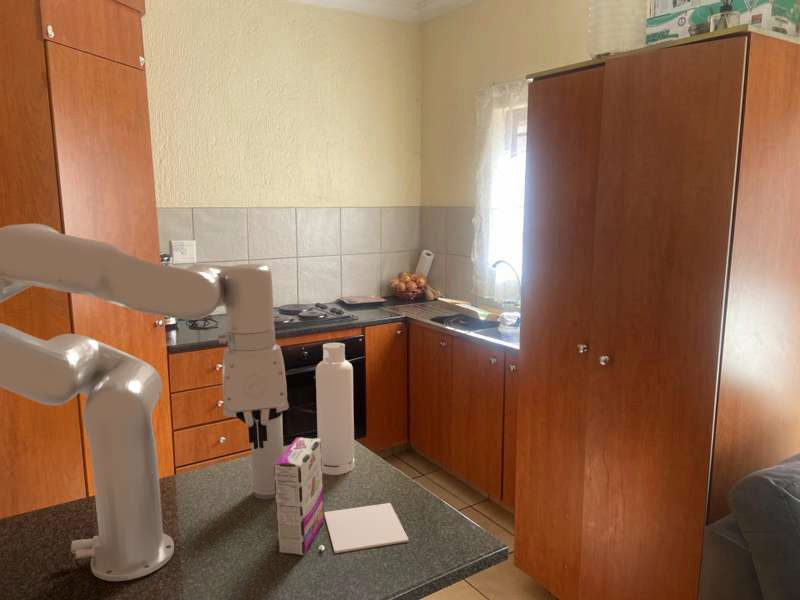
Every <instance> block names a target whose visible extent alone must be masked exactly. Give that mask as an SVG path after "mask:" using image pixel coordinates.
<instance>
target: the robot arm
mask: <svg viewBox="0 0 800 600" xmlns="http://www.w3.org/2000/svg"><path fill="white" fill-rule="evenodd" d="M272 276H273V275H272V272H271V269H270V267H268V266H267V265H265V264H260V263H259V264H258V263H246V264H245V263H244V264H236V265H231V266H228V265H217V264H216V265H215V264H203V263H200V264H197V263H196V264H194V265H190V266H188V267H186V268H182V267H175V266H171V265H166V264H160V263H156V262H153V261H147V260H144V259H141V258H138V257H135V256H132V255H130V254H128V253H126V252H125V251H123V250H122V249H120V248H119V247H118V246H116V245H114V244H112V243H108V242H105V241H99V240H94V239H91V238H90V239H89V238H84V237H81V236H75V235H74V236H73V235H69V234H64V233H60V232H59V231H57V230H56V229H54V228H53V227H51V226H48V225H45V224H42V223H24V224H23V223H20V224H10V225H5V226H2V227H0V304H1V303H3V302H5V301H7V300H8V299H10V298H12V297H14V296H15V295H17V294H20V293H21V292H23V291H25V290H26V289H29V288H31V287H32V286H33V287H38V288H42V289H43V288H44V289H50V290H55V291H60V292H63V293H64V292H66V293H70V294H76V295H81V296H85V297H86V296H87V297H92V298H96V299H98V300H99V299H100V300H103V302H107V303H109V304H110V303H111V304H114V305H117V306H120V307H123V308H126V309H129V310H130V309H131V310H133V311H137V312H141V313H145V314H150V315H156V316H161V317H167V318H172V319H179V320H186V321H194V320H196V321H197V320H201V319H205V318H207V317H209V316H210V315H212V314H213V313H214V312H215V311H216V309H217V308H219V307H224V308H225V315H226V317H225V318H226V329H227V330H226V331H227V332H225V333H223V334H222V335H218V344H224V345H226V346H227V348H225V349H224V351H223V357H222V370H221V371H222V373H221V374H222V375H221V376H222V400H223V410H222V414H223V416H224V417H229V418H230V417H231V418H237V419H238V420H240V421H241V422H243V423H244V424H245V426H246V427H247V428H248V441H249V444H251V443H253V442H254V449H257V448H258V437H259V448H264V445H263V441H267V424H268V421H269V420H270V419H271V418H272V417H273V416H274V415H275V414H276V413H277V412H281V411H282V412H284V411H287V410H288V409H289V408H290V405H289V401H288V391H287V390H288V388H287V378H286V367H285V361H284V356H283V353H282V349H281V346H280V345H279V344H277V343H276V329H275V313H274V312H275V311H274V298H273V297H274V294H273V291H274V290H273V277H272ZM0 388H2V389H4V390H7V391H9V392H12V393H13V394H17V395H19V396H21V397H24V398H26V399H29V400H31V401H33V402H37V403H39V404H42V405H44V406H59V405H64V404H66V403H68V402H69V401H71V400H73V399H74V398H75V397H76V396H78V394H81V395H84V396H86V399H85V402H84V405H83V409H82V421H83V427H84V431H85V434H86V435H85V436H86V439H87V442H88V443H87V444H88V447H89V453H90V460H91V462H90V463H91V469H92V478H93V486H94V487H93V488H94V497H95V507H96V510H95V511H96V518H97V531H98V535H94V536H93V537H92V538H87V539H85V538H83V539H77V540H76V539H75V540H72V541H71V546H70V550H71V553H72V554H75V559H76V560H81V559H86V558H91V560H90V569H91V572H92V575H93V576H95V578H98V579H100V580H103V581H107V582H125V581H130V580H135V579H139V578H142V577H145V576H147V575H150V574H152V573H154V572H155V571H157V570H159V569H160V568H162V567H164V565H165V564H167V563H168V562H169V561H170V559H171V558H172V557H173V555H174V552H175V544H174V543H175V542H174V539H172V537H171V536H169V535H168V534H166V533H164V529H163V514H162V501H161V490H160V489H161V488H160V475H159V465H158V464H159V463H158V454H157V445H156V444H157V443H156V438H155V432H154V428H153V415H152V414H153V411H154V410H155V407H156V405H157V404H158V402H159V400H160V397H161V395H162V392H163V381H162V377H161V375H160V373H159V372H158V370H157V369H156V368H155V367H153V366H152V365H151V364H149V363H148V362H147V361H144V360H142V359H141V358H139V357H136V356H134V355H131V354H130V353H127V352H125V351H122V350H121V349H118V348H115V347H114V346H112V345H109V344H106V343H104V342H102V341H99V340H97V339H95V338H92V337H90V336H88V335H83V334H77V333H64V334H63V333H62V334H59V335H56V336H53V337H52V338H50V339H48V340H46V339H43V338H42V339H41V338H39V337H36V336H33V335H30V334H28V333H26V332H23V331H21V330H19V329H17V328H15V327H12V326H9V325H8V324H4V323H0ZM254 410H261V414H260V417H259V421H258V435H257V421H255V418H254V417H253V414H252V411H254Z"/></svg>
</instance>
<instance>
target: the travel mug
mask: <svg viewBox="0 0 800 600" xmlns="http://www.w3.org/2000/svg"><path fill="white" fill-rule="evenodd" d="M252 414H253V417H254V418H255V421H257V435H258V421H259V417H260V414H261V410H254V411H252ZM283 427H284V426H283V411H281V412H277V413H276V414H275V415H274V416H273V417H272V418H271V419H270V420H269V421H268V424H267V441H263V445H264V448H259V437H258V448H257V449H254V442H253V443H250V445H251V448H250V449H251V464H252V465H251V468H252V485H253V488H252V489H253V490H252V491H253V496H254V497H255V498H257V499H258V500H259V499H260V500H262V501H263V500H266V501H268V500H273V499H276V495H275V477H274V476H275V475H274V463H275V462H276V461H277V460H278V459H279V457H280V456H281V455H282V454H283V453H284V452H285V451H284V435H283V434H284V433H283V432H284V431H283Z"/></svg>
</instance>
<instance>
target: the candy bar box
mask: <svg viewBox="0 0 800 600" xmlns="http://www.w3.org/2000/svg"><path fill="white" fill-rule="evenodd" d="M283 452H284V453H283V454H282V455H281V456H280V457H279V459H278V460H277V461H276V462H275V463H274V475H275V476H274V477H275V495H276V498H275V503H276V504H275V505H276V509H275V510H276V522H277V524H276V525H277V543H278V553H280V554H284V555H297V556H306V553H307V551H308V550H309V548H310V547H311V544H312V543H313V541H314V539H315V538H316V536H317V534H318V532H319V531H320V530H321V527H322V526H323V524H324V522H325V516H324V512H325V508H324V489H323V487H324V486H323V483H324V482H323V472H322V459H321V458H322V457H321V439H318V438H313V437H312V438H311V437H304V436H303V437H302V436H301V437H296V438H295V439H294V440H293V441H292V443H290V445H289V446H288V447H287V448H286V449H285V450H284V451H283Z"/></svg>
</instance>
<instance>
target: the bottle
mask: <svg viewBox="0 0 800 600" xmlns="http://www.w3.org/2000/svg"><path fill="white" fill-rule="evenodd" d="M345 347H346V344H345V343H342V342H328V343H324V344H323V345H322V351H323V352H322V353H323V354H322V355H323V356H322V360H321V361H320V362H319V363H318V364H317V365H316V367H315V387H316V389H315V391H316V394H315V396H316V423H317V425H316V428H317V430H316V431H317V439H321V457H322V458H321V459H322V474H326V475H330V476H331V475H332V476H338V475H339V476H340V475H344V473H345V474H348V473H350V472H351V471H353V470H354V469H353V468H355V425H354V424H355V423H354V422H355V421H354V415H355V414H354V367H353V365H352V363H351V362H349V361H348V360H347V359H346V354H345V353H346V351H345V350H346V349H345ZM349 471H350V472H349ZM347 472H348V473H347Z"/></svg>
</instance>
